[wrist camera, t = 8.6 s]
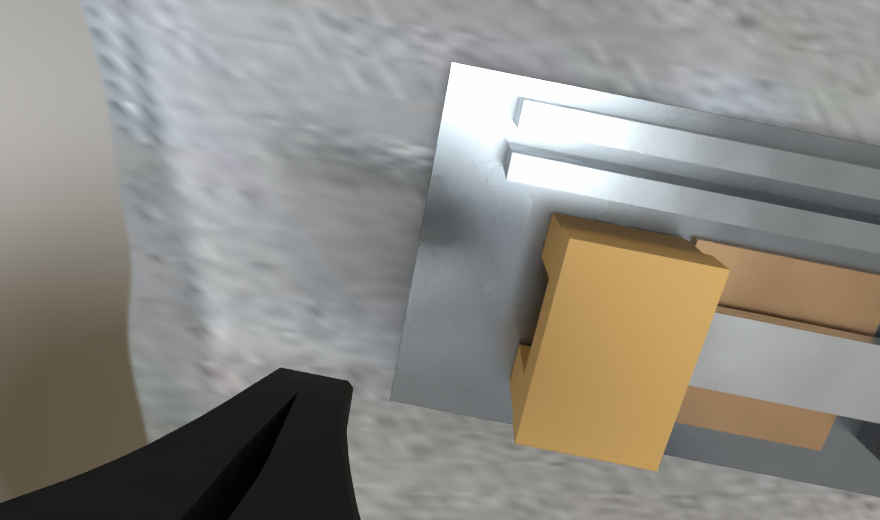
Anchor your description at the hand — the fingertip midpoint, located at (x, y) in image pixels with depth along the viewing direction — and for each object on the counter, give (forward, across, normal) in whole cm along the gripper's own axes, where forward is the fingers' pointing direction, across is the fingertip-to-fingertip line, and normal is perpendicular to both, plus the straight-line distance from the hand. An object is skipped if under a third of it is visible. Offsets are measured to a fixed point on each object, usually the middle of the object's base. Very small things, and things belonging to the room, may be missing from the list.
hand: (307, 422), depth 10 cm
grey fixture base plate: (+10, -11, -1) cm, 15 cm away
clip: (+8, -7, 0) cm, 11 cm away
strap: (+8, -12, 0) cm, 14 cm away
